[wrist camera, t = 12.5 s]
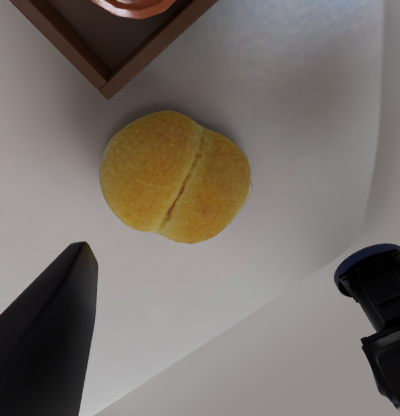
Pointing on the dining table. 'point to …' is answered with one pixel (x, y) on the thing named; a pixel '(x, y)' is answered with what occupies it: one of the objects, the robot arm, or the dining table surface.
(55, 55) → the dining table surface
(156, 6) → the side dish
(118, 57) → the serving tray
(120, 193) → the bread roll
